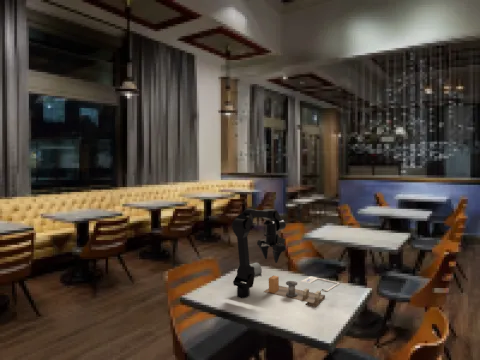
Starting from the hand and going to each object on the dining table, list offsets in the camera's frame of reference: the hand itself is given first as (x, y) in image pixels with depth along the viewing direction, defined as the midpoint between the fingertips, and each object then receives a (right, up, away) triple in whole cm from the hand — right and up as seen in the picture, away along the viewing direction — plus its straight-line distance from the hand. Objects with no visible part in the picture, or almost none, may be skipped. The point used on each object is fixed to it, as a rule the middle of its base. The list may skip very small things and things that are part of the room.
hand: (271, 260), depth 188 cm
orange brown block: (0, -13, -12) cm, 17 cm away
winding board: (+10, -14, -16) cm, 23 cm away
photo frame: (+26, -14, +1) cm, 29 cm away
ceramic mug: (-8, -13, +14) cm, 21 cm away
